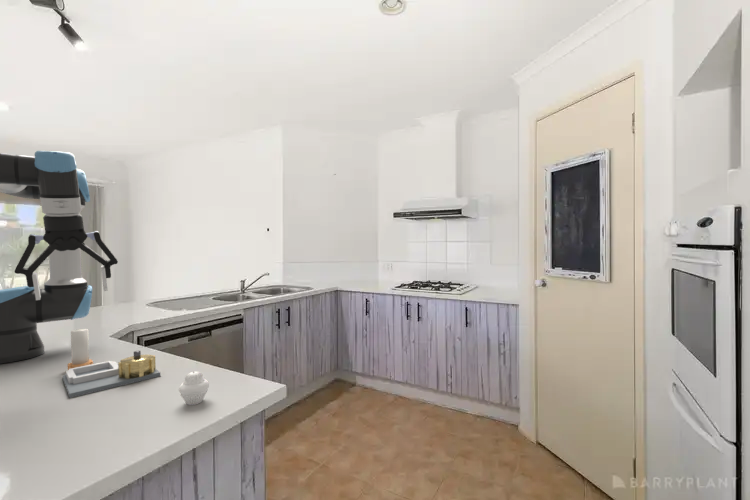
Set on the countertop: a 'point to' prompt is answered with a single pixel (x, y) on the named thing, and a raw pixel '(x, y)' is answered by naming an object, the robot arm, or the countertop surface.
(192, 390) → the muffin
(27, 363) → the countertop surface
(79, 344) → the white cylinder orange base
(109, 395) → the countertop surface
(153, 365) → the sun gear
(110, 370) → the carrier plate
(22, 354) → the robot arm
